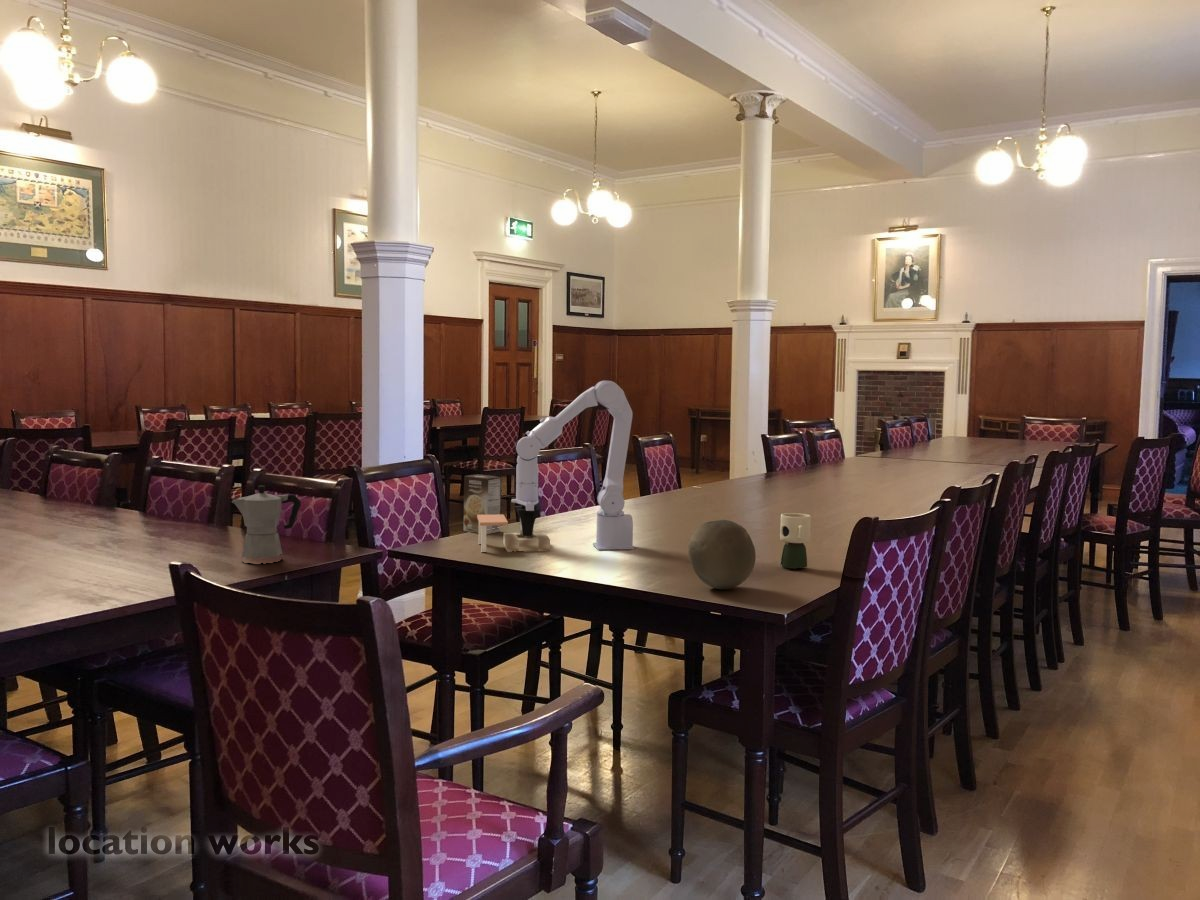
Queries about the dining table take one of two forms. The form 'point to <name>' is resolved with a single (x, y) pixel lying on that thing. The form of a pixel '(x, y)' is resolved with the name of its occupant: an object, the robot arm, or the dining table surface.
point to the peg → (522, 532)
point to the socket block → (526, 542)
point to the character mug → (794, 539)
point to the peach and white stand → (488, 521)
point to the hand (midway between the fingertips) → (526, 534)
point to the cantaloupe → (722, 554)
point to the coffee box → (481, 500)
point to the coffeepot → (264, 522)
